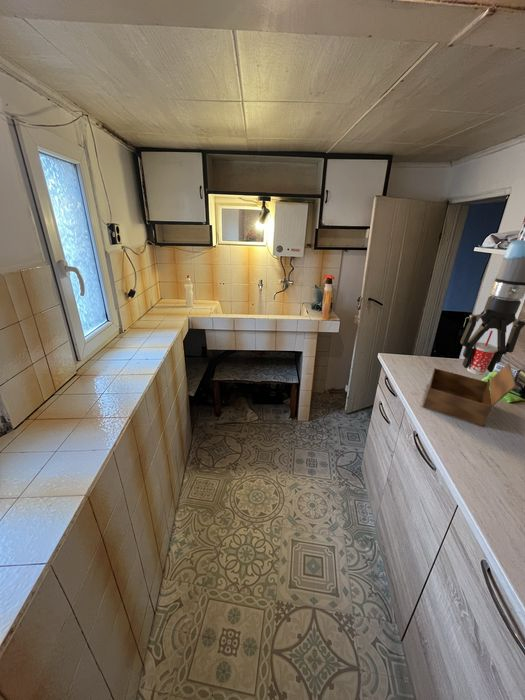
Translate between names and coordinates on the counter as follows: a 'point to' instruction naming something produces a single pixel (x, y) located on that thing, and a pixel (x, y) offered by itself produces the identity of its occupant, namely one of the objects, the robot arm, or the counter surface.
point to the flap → (501, 384)
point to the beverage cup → (481, 357)
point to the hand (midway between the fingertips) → (476, 368)
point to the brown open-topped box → (459, 396)
